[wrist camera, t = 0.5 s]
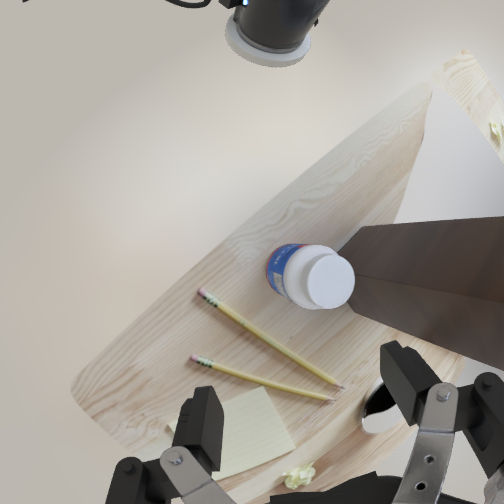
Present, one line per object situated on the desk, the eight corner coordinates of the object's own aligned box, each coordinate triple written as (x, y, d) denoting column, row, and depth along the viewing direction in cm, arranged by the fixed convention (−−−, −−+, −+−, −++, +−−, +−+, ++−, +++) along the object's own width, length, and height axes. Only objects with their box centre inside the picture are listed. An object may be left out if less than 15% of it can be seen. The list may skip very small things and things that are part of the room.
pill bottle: (300, 234, 29) (349, 231, 20) (320, 279, 30) (373, 293, 20) (254, 258, 28) (286, 266, 19) (277, 304, 29) (316, 331, 20)
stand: (321, 268, 30) (590, 318, 4) (362, 226, 31) (599, 211, 5) (355, 312, 31) (571, 395, 5) (391, 271, 32) (598, 300, 6)
